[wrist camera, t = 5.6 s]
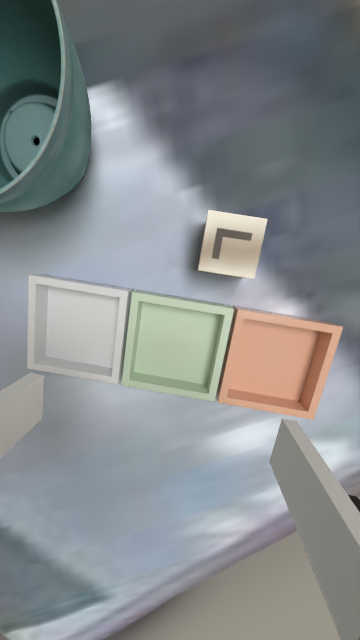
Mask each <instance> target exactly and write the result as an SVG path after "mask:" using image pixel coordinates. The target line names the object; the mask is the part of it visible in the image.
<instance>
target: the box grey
mask: <svg viewBox="0 0 360 640" xmlns="http://www.w3.org/2000/svg"><path fill="white" fill-rule="evenodd" d="M133 291H134V289H128V288H122V287H116V286H110V285H104V284H98V283H92V282H86V281H80V280H74V279H68V278H62V277H56V276H50V275H29V282H28V337H27V368H28V369H34V370H39V371H45V372H50V373H56V374H62V375H67V376H73V377H78V378H84V379H90V380H95V381H101V382H106V383H112V384H119V382H120V381H121V379H122V375H123V366H124V357H125V349H126V340H127V331H128V322H129V314H130V305H131V296H132V292H133Z"/></svg>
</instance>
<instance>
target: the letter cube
mask: <svg viewBox="0 0 360 640" xmlns="http://www.w3.org/2000/svg"><path fill="white" fill-rule="evenodd" d="M266 224H267V219H264V218H257V217H251V216H244V215H238V214H231V213H225V212H218V211H212V210H208V215H207V219H206V224H205V229H204V235H203V241H202V247H201V253H200V259H199V265H198V271H203V272H209V273H215V274H222V275H228V276H234V277H240V278H249V279H254V278H255V273H256V269H257V264H258V260H259V255H260V251H261V246H262V242H263V237H264V233H265V228H266Z"/></svg>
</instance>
